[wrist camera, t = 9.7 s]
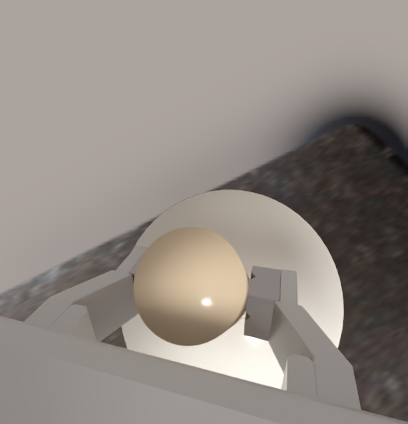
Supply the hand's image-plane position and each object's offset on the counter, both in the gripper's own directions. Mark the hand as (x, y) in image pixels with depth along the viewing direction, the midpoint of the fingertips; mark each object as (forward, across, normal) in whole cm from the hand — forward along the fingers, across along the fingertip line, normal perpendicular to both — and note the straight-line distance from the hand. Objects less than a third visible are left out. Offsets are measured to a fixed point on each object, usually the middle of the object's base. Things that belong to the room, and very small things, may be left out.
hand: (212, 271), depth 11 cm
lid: (+3, 0, +4) cm, 4 cm away
